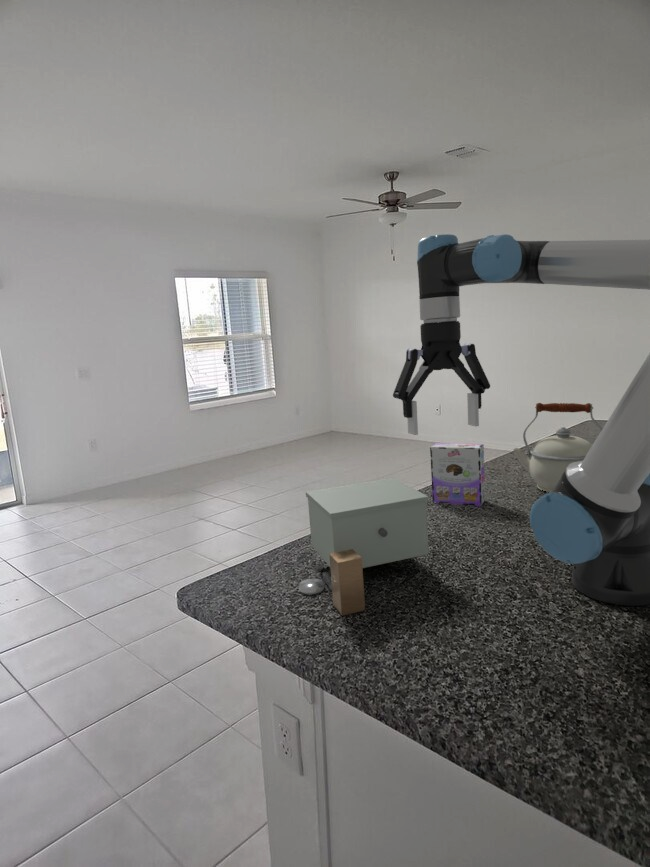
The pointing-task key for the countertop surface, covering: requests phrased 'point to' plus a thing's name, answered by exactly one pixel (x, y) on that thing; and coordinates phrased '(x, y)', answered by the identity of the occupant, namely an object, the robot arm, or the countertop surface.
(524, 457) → the kettle
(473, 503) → the candy box
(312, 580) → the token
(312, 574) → the countertop surface
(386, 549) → the cabinet
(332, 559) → the block
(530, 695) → the countertop surface
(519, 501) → the countertop surface
